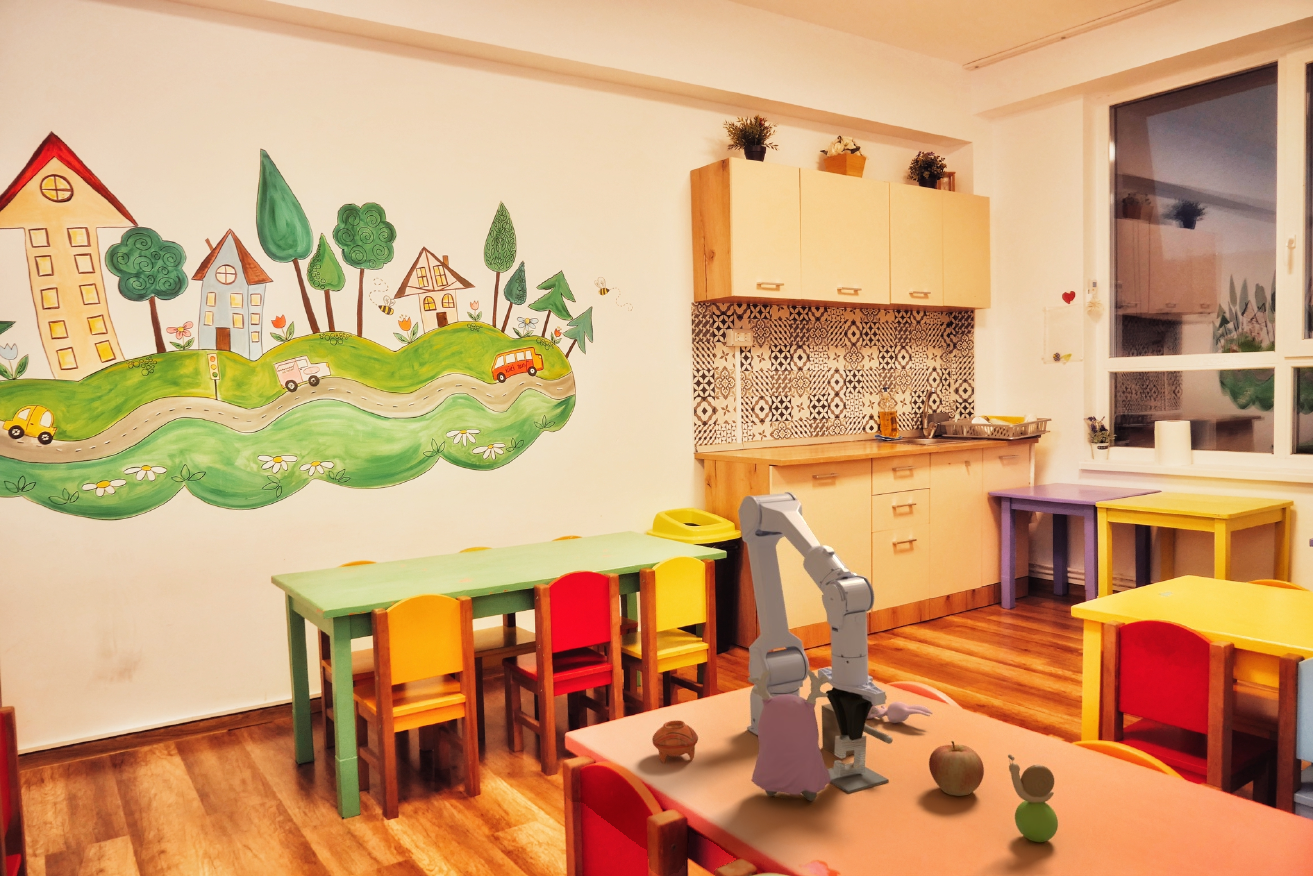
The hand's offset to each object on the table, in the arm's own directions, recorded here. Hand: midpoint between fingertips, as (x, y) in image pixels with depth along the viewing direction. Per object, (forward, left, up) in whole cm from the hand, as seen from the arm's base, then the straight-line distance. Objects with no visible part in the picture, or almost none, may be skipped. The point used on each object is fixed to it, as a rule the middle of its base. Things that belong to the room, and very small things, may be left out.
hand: (851, 736), depth 143 cm
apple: (+12, +11, -7) cm, 17 cm away
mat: (0, 0, -7) cm, 7 cm away
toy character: (0, -12, -7) cm, 14 cm away
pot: (-22, -20, -7) cm, 31 cm away
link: (0, -1, -6) cm, 6 cm away
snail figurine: (+28, +9, -7) cm, 30 cm away
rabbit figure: (-16, +22, -7) cm, 28 cm away
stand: (-5, +6, -7) cm, 10 cm away
